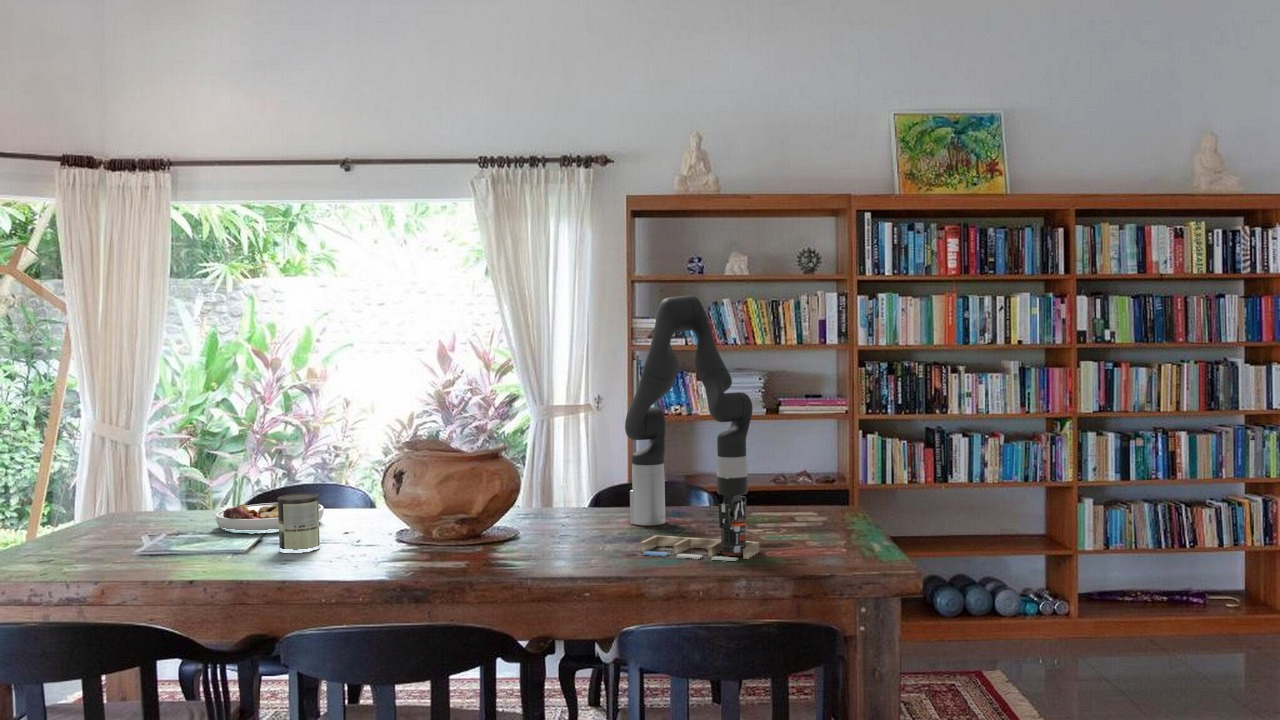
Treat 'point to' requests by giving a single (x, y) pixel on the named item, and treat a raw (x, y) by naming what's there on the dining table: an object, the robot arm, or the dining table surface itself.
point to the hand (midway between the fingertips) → (733, 541)
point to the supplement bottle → (735, 538)
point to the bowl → (252, 517)
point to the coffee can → (298, 521)
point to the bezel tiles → (689, 556)
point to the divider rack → (694, 545)
